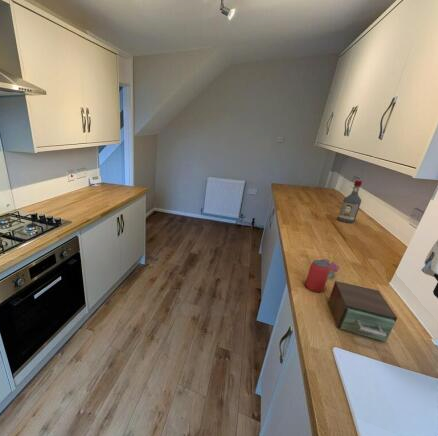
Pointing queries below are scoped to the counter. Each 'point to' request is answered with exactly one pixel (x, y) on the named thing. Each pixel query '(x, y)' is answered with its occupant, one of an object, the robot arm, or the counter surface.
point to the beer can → (317, 275)
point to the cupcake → (332, 266)
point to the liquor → (350, 205)
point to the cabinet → (357, 301)
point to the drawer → (367, 324)
